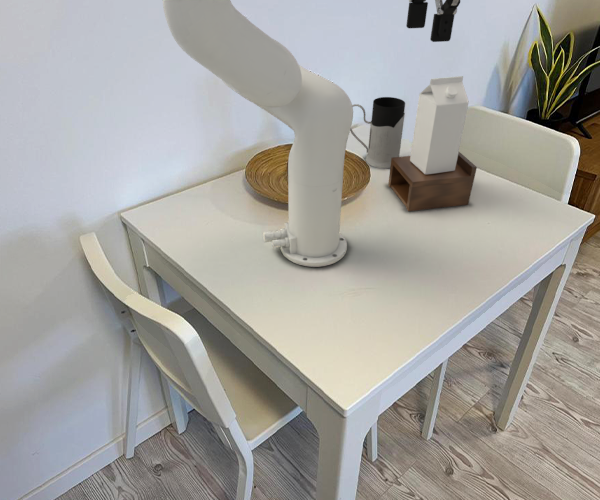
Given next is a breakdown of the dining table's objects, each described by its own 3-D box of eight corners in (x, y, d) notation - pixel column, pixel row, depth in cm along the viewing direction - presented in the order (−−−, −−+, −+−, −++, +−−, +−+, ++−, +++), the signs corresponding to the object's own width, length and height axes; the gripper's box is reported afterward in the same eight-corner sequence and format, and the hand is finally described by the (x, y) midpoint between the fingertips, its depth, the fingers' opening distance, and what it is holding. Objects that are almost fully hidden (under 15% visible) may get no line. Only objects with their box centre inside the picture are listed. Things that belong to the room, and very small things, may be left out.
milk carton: (409, 161, 113) (422, 73, 102) (438, 157, 114) (453, 71, 103) (425, 175, 107) (440, 84, 96) (454, 171, 109) (473, 81, 98)
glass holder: (398, 170, 125) (406, 110, 116) (341, 163, 127) (344, 104, 119) (401, 155, 132) (409, 97, 123) (347, 149, 134) (350, 92, 126)
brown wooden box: (408, 211, 109) (414, 173, 103) (388, 185, 118) (392, 149, 113) (468, 204, 111) (477, 167, 106) (443, 179, 121) (450, 144, 116)
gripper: (398, -92, 81) (387, 24, 91) (447, -88, 67) (428, 48, 77) (442, -92, 83) (426, 22, 92) (499, -88, 69) (473, 45, 79)
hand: (427, 34), depth 85 cm, fingers open, 9 cm apart
